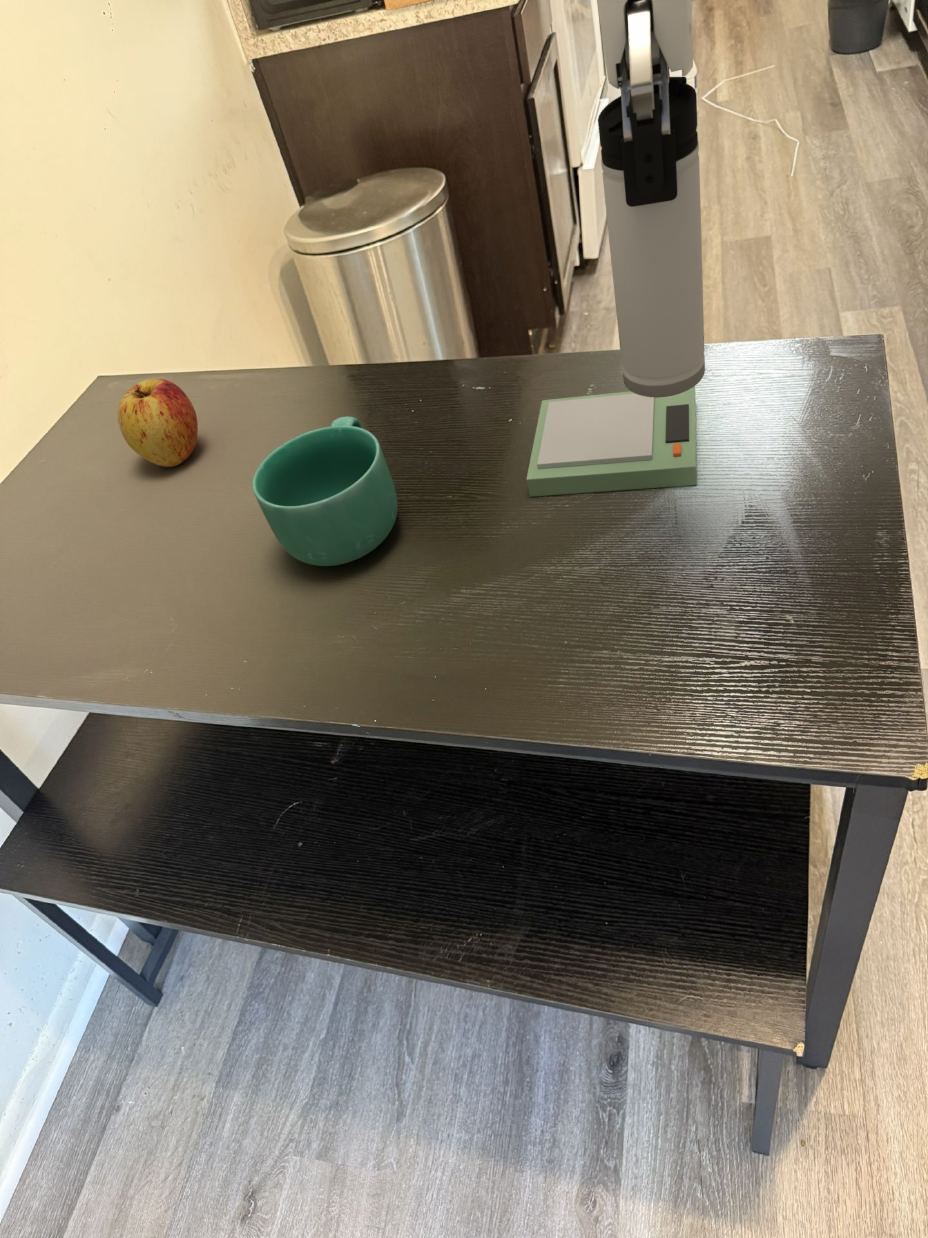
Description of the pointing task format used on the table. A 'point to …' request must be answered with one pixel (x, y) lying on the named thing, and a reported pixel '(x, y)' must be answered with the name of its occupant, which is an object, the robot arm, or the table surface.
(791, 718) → the table surface
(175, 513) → the table surface
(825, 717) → the table surface
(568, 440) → the scale
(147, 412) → the apple
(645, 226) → the travel mug
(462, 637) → the table surface
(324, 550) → the mug
